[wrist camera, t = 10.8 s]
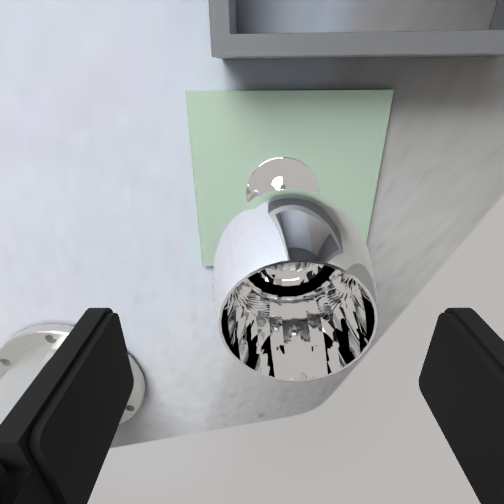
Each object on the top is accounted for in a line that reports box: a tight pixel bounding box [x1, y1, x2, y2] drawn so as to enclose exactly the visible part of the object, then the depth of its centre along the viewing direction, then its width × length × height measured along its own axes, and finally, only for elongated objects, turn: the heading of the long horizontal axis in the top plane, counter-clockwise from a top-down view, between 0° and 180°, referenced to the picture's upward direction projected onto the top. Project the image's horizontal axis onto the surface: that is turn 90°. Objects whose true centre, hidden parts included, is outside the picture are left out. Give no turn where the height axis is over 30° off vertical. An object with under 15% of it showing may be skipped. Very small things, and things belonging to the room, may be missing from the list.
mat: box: [186, 89, 394, 266], centre depth 20 cm, size 11×11×1 cm
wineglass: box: [213, 156, 378, 381], centre depth 15 cm, size 6×6×12 cm
